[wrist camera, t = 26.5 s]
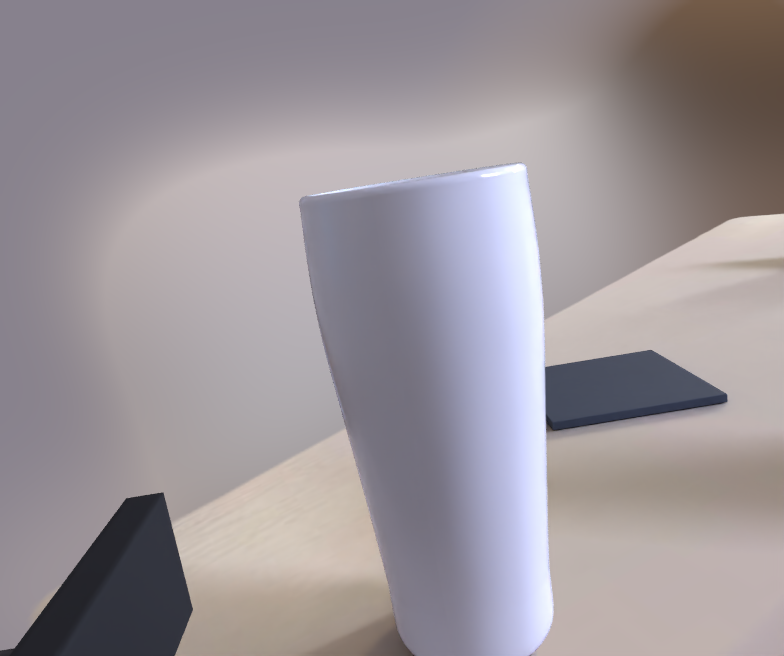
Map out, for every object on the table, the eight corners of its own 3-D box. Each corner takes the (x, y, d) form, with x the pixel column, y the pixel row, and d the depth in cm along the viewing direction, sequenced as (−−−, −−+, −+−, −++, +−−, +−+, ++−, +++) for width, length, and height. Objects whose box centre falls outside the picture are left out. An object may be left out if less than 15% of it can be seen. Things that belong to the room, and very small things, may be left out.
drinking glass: (439, 742, 18) (347, 192, 15) (347, 614, 24) (267, 201, 21) (624, 638, 21) (581, 153, 18) (500, 546, 27) (450, 171, 24)
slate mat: (553, 430, 37) (552, 422, 37) (513, 378, 47) (512, 372, 47) (727, 402, 37) (727, 394, 37) (652, 356, 47) (651, 349, 47)
